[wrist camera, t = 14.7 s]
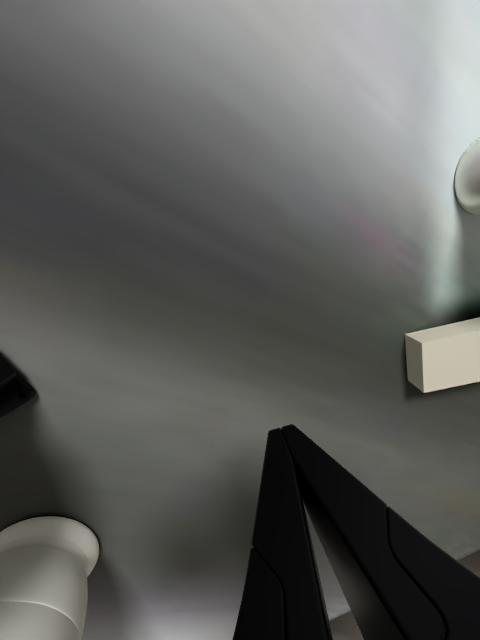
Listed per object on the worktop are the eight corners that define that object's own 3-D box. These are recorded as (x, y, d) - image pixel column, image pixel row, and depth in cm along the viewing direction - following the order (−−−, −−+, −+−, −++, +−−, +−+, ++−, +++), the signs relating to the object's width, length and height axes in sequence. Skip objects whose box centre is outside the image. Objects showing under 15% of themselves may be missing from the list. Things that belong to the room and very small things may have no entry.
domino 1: (423, 392, 22) (542, 368, 21) (421, 343, 20) (548, 315, 19) (407, 380, 24) (514, 357, 23) (404, 334, 22) (518, 308, 22)
